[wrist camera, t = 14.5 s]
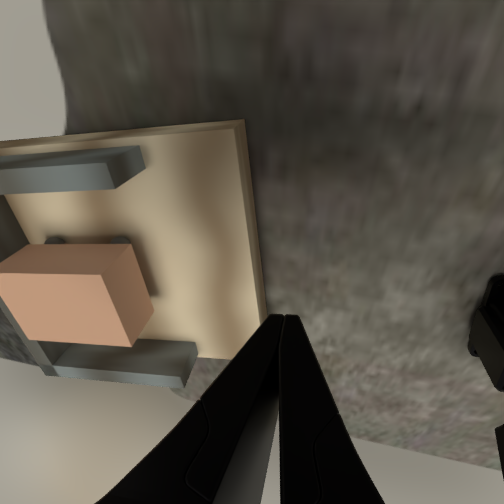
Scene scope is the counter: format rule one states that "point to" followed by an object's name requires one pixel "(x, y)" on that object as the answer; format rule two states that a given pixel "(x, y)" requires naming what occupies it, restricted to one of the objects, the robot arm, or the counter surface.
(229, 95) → the counter surface
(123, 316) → the tan cardboard-like brick
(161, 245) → the dock
